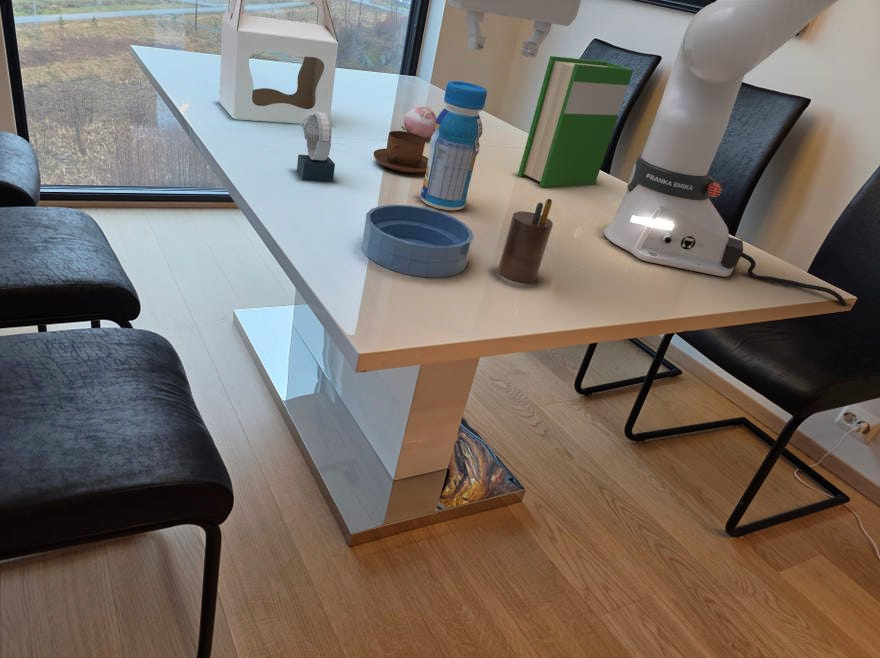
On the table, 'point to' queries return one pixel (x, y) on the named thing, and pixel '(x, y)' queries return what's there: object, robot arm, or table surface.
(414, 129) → the onion
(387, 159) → the cup and saucer
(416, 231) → the bowl
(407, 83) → the table surface
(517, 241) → the pot
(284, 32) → the gable box
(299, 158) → the watch
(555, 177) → the hardback book
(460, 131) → the beverage bottle
